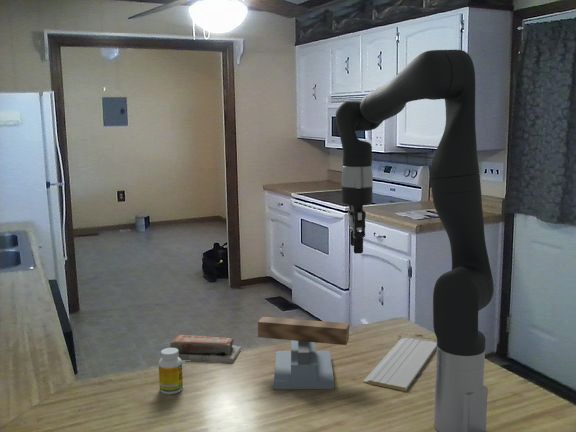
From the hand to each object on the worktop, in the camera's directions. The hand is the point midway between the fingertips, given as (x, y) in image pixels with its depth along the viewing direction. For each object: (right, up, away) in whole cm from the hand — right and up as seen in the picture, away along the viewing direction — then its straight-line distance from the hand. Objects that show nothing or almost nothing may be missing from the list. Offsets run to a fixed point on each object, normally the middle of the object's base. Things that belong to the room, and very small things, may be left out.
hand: (356, 249), depth 147 cm
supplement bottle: (-44, -33, -9) cm, 56 cm away
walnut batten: (-13, -22, -2) cm, 26 cm away
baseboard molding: (+12, -30, +6) cm, 33 cm away
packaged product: (-39, -30, +12) cm, 51 cm away
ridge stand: (-13, -31, 0) cm, 33 cm away
